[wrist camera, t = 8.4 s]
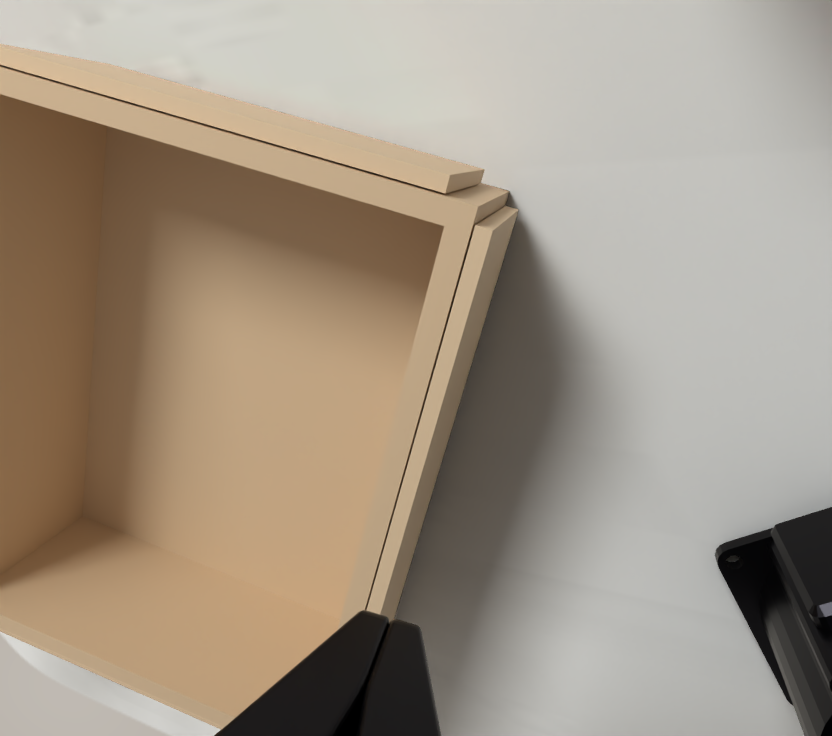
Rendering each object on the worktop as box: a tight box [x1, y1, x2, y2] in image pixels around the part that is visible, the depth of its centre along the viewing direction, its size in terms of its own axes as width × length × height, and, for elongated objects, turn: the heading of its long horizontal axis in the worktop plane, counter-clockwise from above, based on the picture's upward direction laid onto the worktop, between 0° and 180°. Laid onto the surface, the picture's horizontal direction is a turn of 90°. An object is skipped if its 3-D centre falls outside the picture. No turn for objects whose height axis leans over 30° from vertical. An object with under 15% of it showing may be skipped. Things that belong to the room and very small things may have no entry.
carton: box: [0, 44, 518, 730], centre depth 21 cm, size 14×19×6 cm
